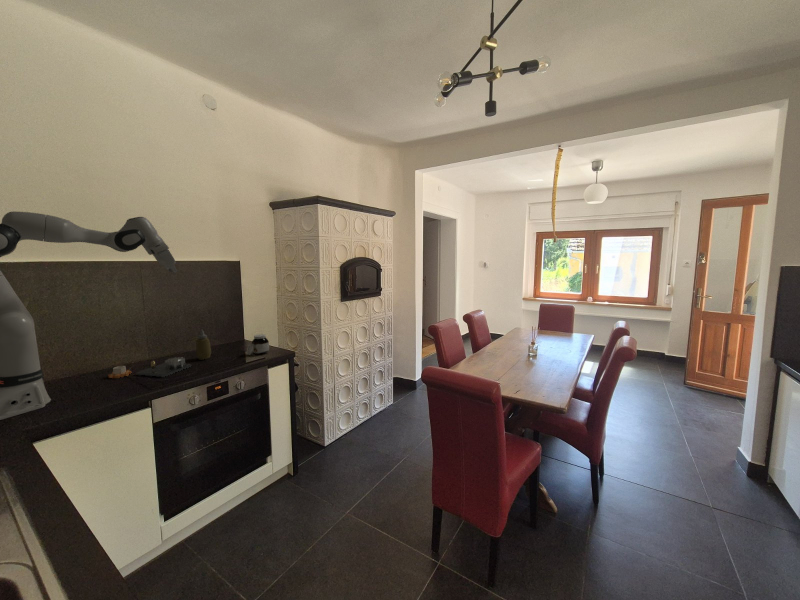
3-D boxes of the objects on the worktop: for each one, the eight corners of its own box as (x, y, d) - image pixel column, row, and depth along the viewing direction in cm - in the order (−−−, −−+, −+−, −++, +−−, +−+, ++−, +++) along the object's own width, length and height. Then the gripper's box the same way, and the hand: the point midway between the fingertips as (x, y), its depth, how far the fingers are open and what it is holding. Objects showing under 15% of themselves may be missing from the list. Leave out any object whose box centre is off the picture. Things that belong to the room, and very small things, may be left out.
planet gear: (117, 379, 162) (116, 370, 161) (103, 378, 164) (102, 369, 163) (135, 373, 170) (135, 365, 170) (122, 372, 172) (121, 363, 172)
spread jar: (271, 352, 209) (270, 334, 207) (257, 357, 198) (256, 338, 197) (257, 350, 213) (256, 333, 212) (243, 355, 203) (242, 336, 202)
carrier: (163, 377, 164) (162, 365, 163) (136, 375, 168) (135, 362, 167) (191, 366, 181) (190, 355, 180) (166, 364, 184) (165, 353, 183)
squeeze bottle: (193, 359, 195) (191, 329, 193) (207, 355, 201) (205, 327, 199) (200, 361, 190) (197, 331, 188) (214, 358, 197) (212, 329, 195)
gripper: (145, 250, 167) (162, 274, 173) (154, 250, 153) (172, 276, 160) (158, 245, 171) (174, 268, 177) (168, 245, 157) (185, 270, 163)
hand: (173, 272), depth 168 cm, fingers open, 8 cm apart
